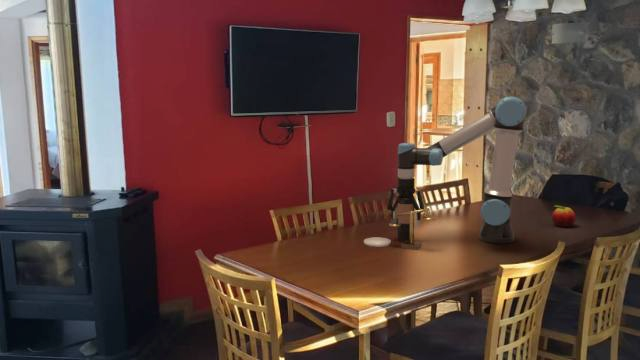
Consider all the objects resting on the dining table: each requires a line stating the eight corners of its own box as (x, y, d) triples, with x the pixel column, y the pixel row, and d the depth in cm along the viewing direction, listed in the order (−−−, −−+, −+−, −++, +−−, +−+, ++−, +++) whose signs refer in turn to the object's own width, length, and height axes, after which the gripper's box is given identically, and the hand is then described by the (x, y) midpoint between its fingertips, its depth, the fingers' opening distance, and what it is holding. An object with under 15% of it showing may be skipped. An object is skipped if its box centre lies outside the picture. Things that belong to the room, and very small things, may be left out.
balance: (436, 248, 245) (436, 207, 243) (432, 251, 240) (432, 210, 237) (391, 243, 255) (391, 203, 252) (386, 246, 249) (387, 206, 247)
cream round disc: (394, 241, 257) (394, 238, 257) (384, 248, 247) (384, 245, 247) (369, 238, 263) (369, 236, 263) (359, 245, 252) (359, 242, 252)
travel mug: (413, 242, 254) (414, 199, 251) (396, 242, 256) (396, 198, 253) (414, 238, 262) (414, 195, 259) (397, 237, 263) (398, 195, 260)
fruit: (568, 229, 273) (570, 209, 271) (547, 225, 281) (548, 206, 280) (579, 226, 280) (580, 206, 278) (557, 222, 288) (558, 203, 286)
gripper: (432, 177, 253) (432, 226, 256) (385, 175, 263) (385, 222, 266) (427, 180, 246) (427, 230, 250) (379, 177, 256) (379, 225, 260)
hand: (405, 226), depth 258 cm, fingers open, 10 cm apart
